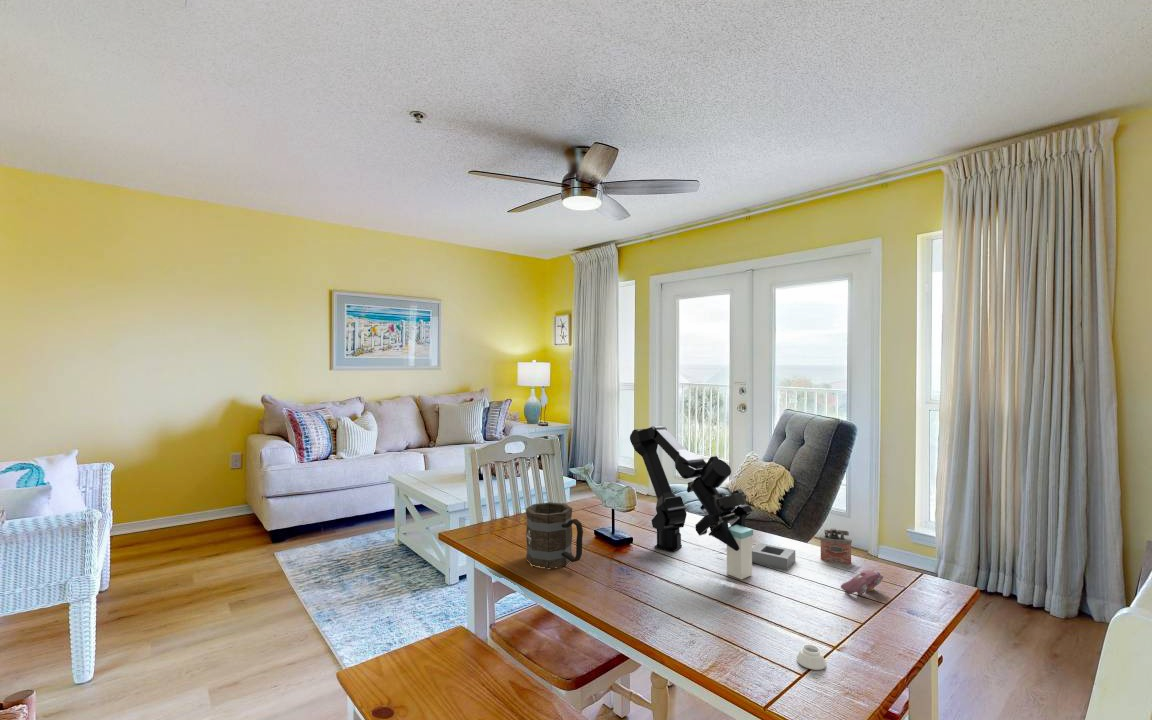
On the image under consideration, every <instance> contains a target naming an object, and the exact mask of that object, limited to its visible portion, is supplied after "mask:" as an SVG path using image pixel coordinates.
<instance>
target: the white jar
mask: <svg viewBox="0 0 1152 720" xmlns="http://www.w3.org/2000/svg"><path fill="white" fill-rule="evenodd" d="M796 661H797V662H798V664H799V665H800V666H802V667H804V668H806V669H809V670H815V671H820V670H821V671H822V670H823V669H825V668H826V666H827V663H826V660H825V658H824V656H823V654H822V651H821V649H820V648H819V647H818V646H816V645H814V644H810V643H809V644H807V643H806V644H803V645H802V647H801V649H800V650H799V652H798V654H797V655H796Z"/></svg>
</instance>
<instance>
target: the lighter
mask: <svg viewBox="0 0 1152 720" xmlns="http://www.w3.org/2000/svg"><path fill="white" fill-rule="evenodd" d="M845 536H847V537H845ZM849 536H850V531H849V530H848V529H836V527H832V528H824V534H821V535H819V539H820V560H821V561H824V562H825V561H826V562H828V563H829V562H831V563H838V564H847V565H848V564H852V543H853V542H852V541H853V540H852V538H850V537H849Z"/></svg>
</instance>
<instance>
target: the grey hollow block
mask: <svg viewBox="0 0 1152 720" xmlns="http://www.w3.org/2000/svg"><path fill="white" fill-rule="evenodd" d="M795 562H796V549H792V548H787V547H782V546H776V545H771V544H768V543H762V542H758V544H756V545H755V546H754V547H752V563H755V564H757V565H758V564H759V565H763V566H766V567H767V566H768V567H772V568H776V569H780V570H785V571H788V570H789V569H790V568H791V567H792V566H793V564H794V563H795Z"/></svg>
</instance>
